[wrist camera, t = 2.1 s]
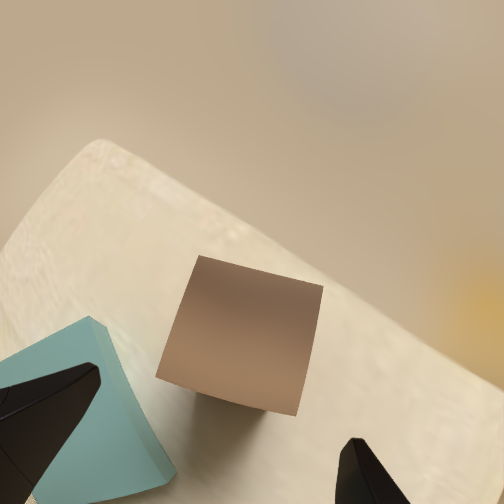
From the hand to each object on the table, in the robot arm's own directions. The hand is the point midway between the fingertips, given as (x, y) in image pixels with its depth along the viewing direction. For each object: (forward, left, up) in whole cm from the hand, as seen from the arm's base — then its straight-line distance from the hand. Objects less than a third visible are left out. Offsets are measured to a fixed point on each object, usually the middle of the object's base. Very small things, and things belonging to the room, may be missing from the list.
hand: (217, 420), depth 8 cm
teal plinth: (-12, +3, -10) cm, 16 cm away
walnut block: (+2, +2, -10) cm, 11 cm away
